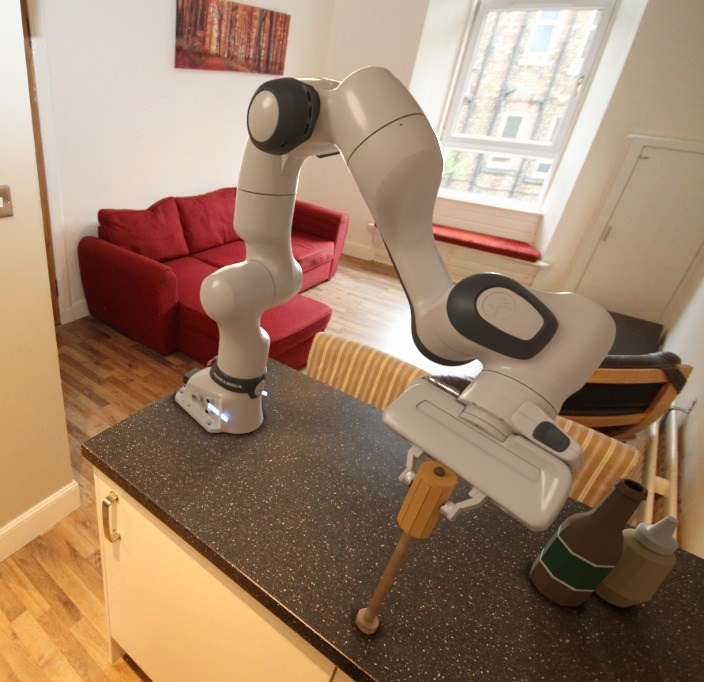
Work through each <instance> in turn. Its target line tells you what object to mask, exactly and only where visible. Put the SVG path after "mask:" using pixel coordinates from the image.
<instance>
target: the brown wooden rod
mask: <svg viewBox="0 0 704 682" xmlns="http://www.w3.org/2000/svg"><path fill="white" fill-rule="evenodd" d="M415 539H416V537H413V536H411V535H409V534H407V533H406V532H405V531H404V530H403V532H402V534H401V536H400V538H399V540H398V542H397V545H396V547H395V549H394V551H393V553H392V555H391V557H390V559H389V561H388V564H387V565H386V568H385V571H384V572H383V574H382V576H381V578H380V580H379V583H378V584H377V587H376V588H375V591H374V593H373V595H372V597H371V600H370V601H369V603H368V605H367V608H365V607H364V608H361V609H359V610H358V612H357V614H356V616H355V624H356V626H357V628H358V629H359V630H360V631H361V632H362V633H364V634H366V635H372V634H375V632H376V631H377V629H378V627H379V624H380V621H379V617H378V612H379V611H380V609H381V606H382V605H383V603H384V601H385V598H386V596H387V595H388V593H389V592H390V588H391V587H392V585H393V583H394V580H395V579H396V576H397V574H398V573H399V571H400V569H401V567H402V565H403V563H404V561H405V558H406V556H407V555H408V552H409V551H410V548H411V547H412V544H413V542H414V541H415Z"/></svg>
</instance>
